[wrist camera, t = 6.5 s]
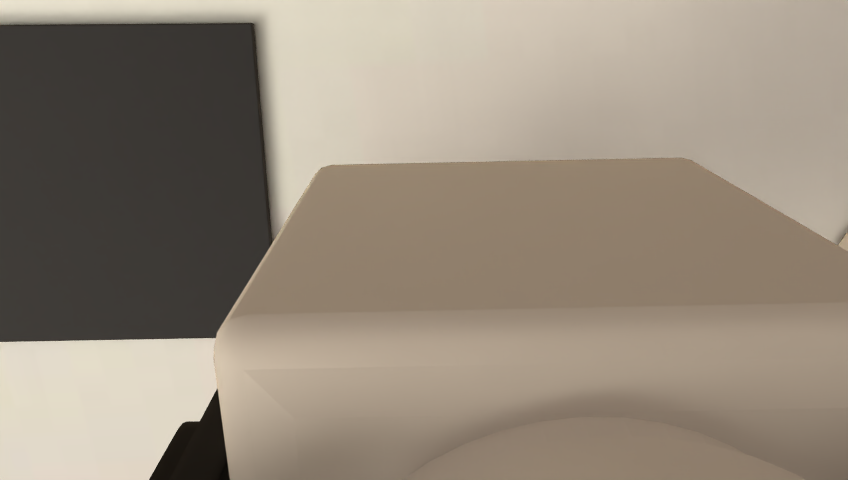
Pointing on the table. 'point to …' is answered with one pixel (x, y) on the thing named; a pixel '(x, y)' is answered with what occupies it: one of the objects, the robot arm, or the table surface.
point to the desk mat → (128, 179)
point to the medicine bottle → (537, 330)
